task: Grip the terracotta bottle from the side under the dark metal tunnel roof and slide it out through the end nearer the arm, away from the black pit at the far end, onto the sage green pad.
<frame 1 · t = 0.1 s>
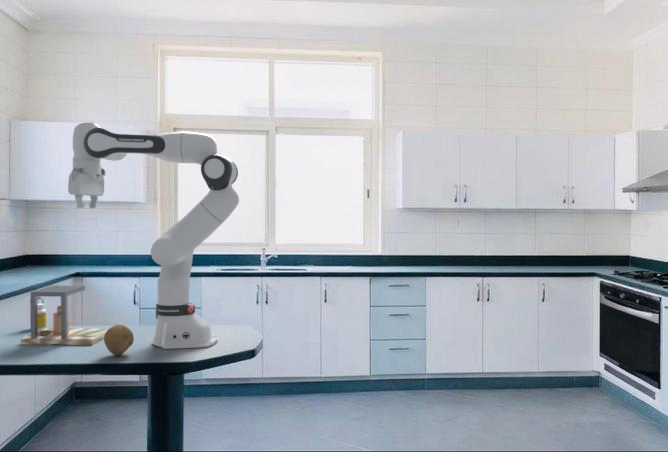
hand: (86, 208, 183), 48 cm above the table, tool pointing down, fingers open, 8 cm apart
terracotta bottle: (61, 333, 188), point 2 cm above the table, touching birch board
birch board: (68, 338, 188), on the table
tunnel roof: (59, 311, 188), on the birch board, point 10 cm above the table
natural sponge: (119, 355, 169), on the table
supplement bottle: (38, 329, 204), on the table
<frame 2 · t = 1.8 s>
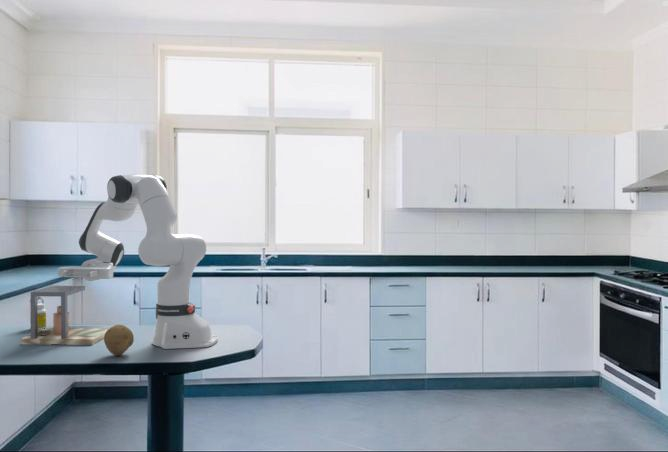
hand: (76, 274, 200), 22 cm above the table, tool horizontal, fingers open, 8 cm apart
nothing on the table moved.
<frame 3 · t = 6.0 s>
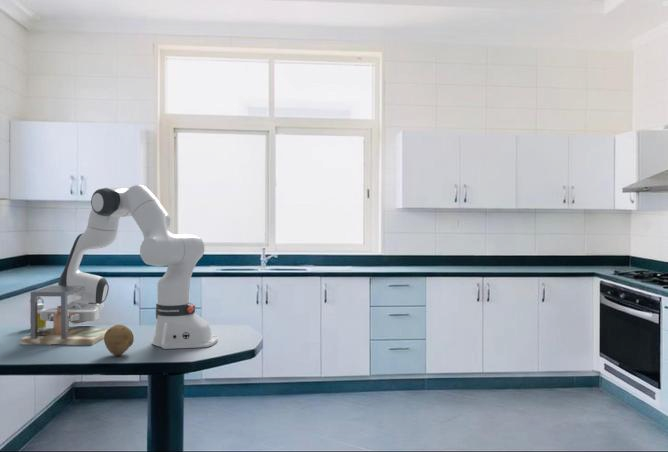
hand: (60, 319, 187), 8 cm above the table, tool horizontal, fingers closed on terracotta bottle, 5 cm apart
terracotta bottle: (61, 333, 188), point 2 cm above the table, touching birch board, gripper
everything else where it was.
when the fingers open (8 cm above the table, at t = 10.0 s): terracotta bottle stays where it is, resting on birch board.
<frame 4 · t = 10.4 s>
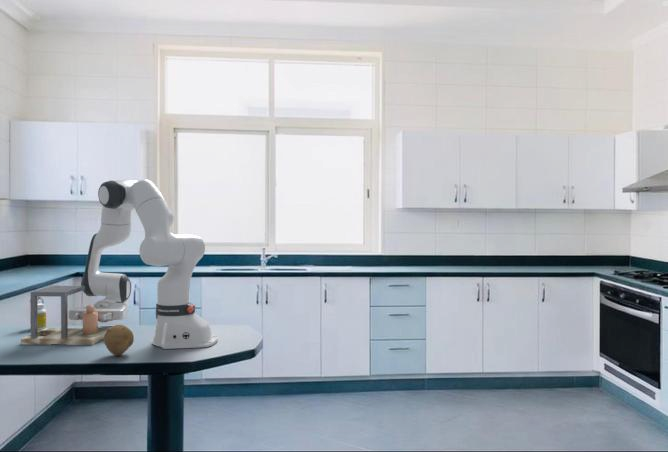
hand: (89, 317, 188), 8 cm above the table, tool horizontal, fingers open, 8 cm apart
terracotta bottle: (90, 333, 189), point 2 cm above the table, touching birch board
everything else where it was.
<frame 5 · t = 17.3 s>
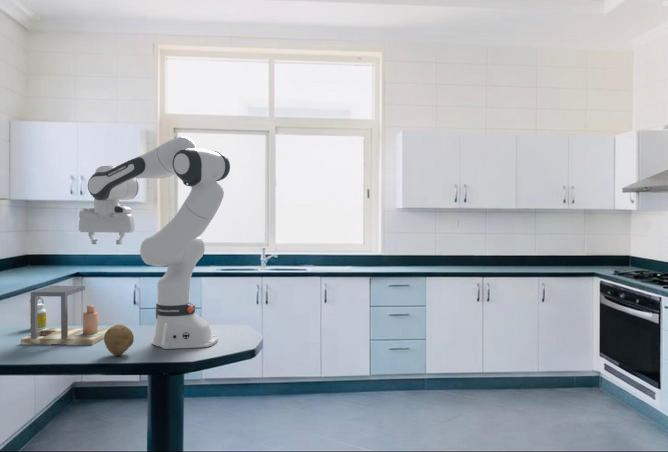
hand: (106, 244, 199), 34 cm above the table, tool pointing down, fingers open, 8 cm apart
nothing on the table moved.
at the end: terracotta bottle inside the target area (0.2 cm from its centre), point 2.3 cm above the table; terracotta bottle tilted 2°; the gripper is holding nothing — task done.
